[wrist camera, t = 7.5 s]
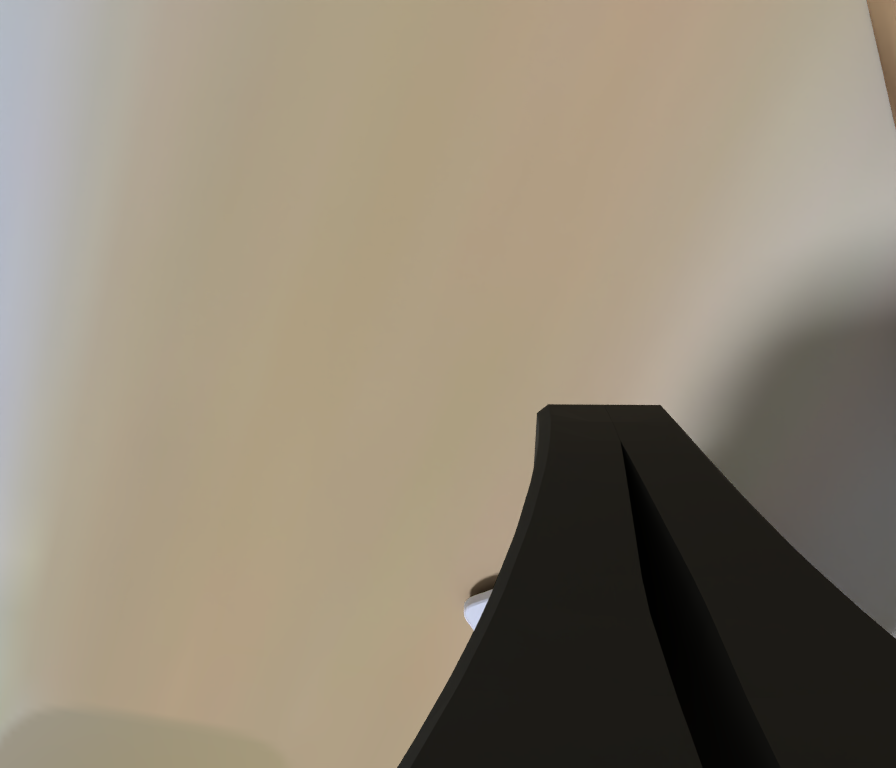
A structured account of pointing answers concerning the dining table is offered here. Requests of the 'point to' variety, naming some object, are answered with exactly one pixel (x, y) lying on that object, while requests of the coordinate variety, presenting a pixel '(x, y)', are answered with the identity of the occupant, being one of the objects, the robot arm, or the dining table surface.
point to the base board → (886, 43)
